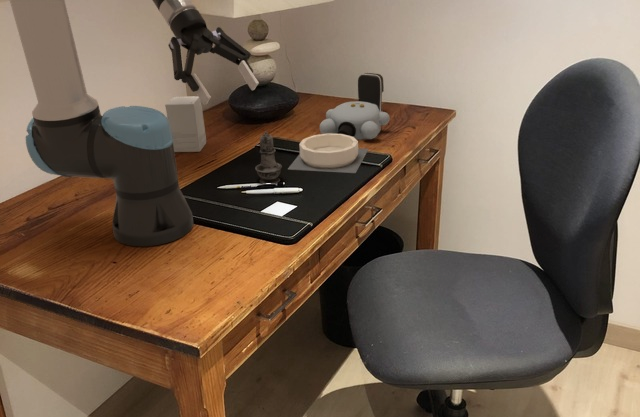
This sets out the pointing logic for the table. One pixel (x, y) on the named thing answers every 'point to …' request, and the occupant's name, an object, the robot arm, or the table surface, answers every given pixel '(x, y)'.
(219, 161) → the table surface
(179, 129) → the supplement box
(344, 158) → the bowl
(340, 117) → the grey rounded piece
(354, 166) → the mat
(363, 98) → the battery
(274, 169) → the grey upright statuette
